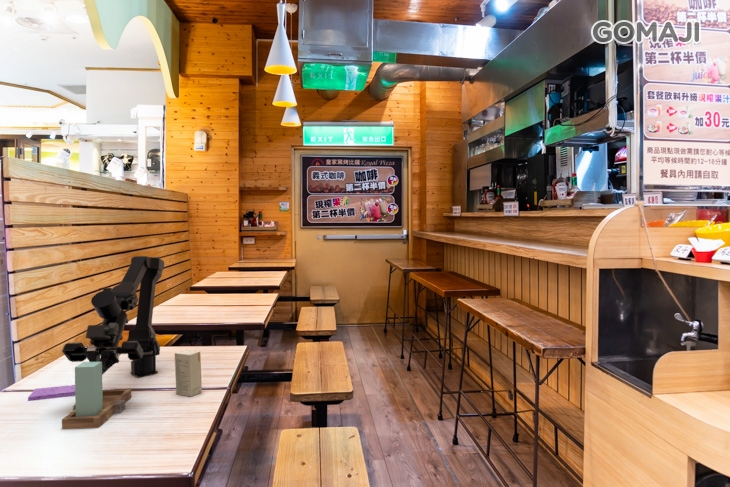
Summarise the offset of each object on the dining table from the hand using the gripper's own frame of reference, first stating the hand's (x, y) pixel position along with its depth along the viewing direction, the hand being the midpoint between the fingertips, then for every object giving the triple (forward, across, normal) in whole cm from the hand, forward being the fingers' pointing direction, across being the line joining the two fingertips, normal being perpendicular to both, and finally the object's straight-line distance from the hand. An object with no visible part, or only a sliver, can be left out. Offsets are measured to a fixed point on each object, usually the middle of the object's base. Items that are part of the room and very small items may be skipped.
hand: (93, 380), depth 119 cm
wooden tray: (+4, 0, +9) cm, 10 cm away
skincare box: (-4, +20, +17) cm, 26 cm away
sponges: (-6, -19, +20) cm, 28 cm away
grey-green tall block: (+7, 0, +4) cm, 8 cm away
